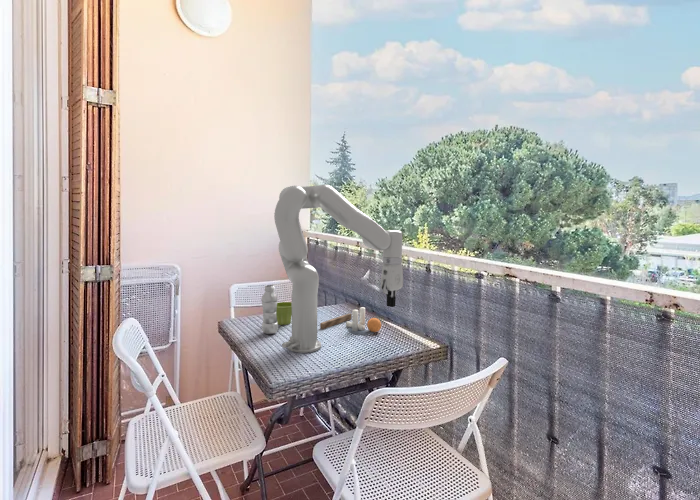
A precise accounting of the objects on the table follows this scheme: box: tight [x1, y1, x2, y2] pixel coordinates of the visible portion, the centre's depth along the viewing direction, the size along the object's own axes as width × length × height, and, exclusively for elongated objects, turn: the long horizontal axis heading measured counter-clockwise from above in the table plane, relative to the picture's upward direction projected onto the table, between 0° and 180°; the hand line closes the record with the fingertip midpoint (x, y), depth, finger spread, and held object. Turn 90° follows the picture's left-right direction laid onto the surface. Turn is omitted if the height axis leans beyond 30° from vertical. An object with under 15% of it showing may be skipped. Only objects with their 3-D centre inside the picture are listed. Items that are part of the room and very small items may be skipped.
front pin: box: [345, 320, 366, 331], centre depth 168 cm, size 2×2×9 cm
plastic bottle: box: [261, 284, 279, 335], centre depth 159 cm, size 6×7×20 cm
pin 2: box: [359, 306, 366, 326], centre depth 169 cm, size 2×2×9 cm
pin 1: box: [351, 309, 359, 331], centre depth 164 cm, size 2×2×9 cm
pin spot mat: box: [347, 327, 376, 336], centre depth 166 cm, size 12×12×1 cm
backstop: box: [319, 313, 352, 330], centre depth 175 cm, size 20×2×2 cm, turn 142°
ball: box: [366, 317, 382, 333], centre depth 164 cm, size 6×6×6 cm
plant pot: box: [276, 301, 292, 326], centre depth 174 cm, size 9×9×9 cm
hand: (390, 306), depth 156 cm, fingers closed
